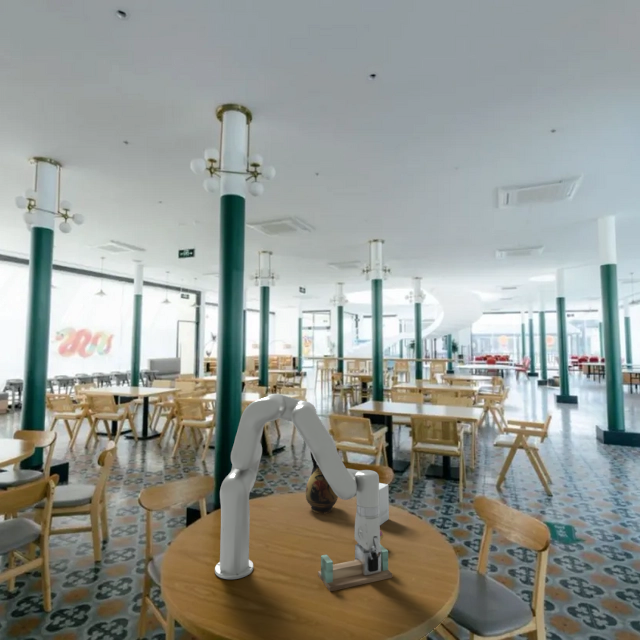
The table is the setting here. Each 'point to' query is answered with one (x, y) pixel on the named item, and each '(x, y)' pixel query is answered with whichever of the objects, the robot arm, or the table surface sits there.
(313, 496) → the ceramic jug
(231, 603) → the table surface
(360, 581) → the rail bed
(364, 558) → the grey sliding block
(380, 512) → the supplement box
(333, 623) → the table surface
